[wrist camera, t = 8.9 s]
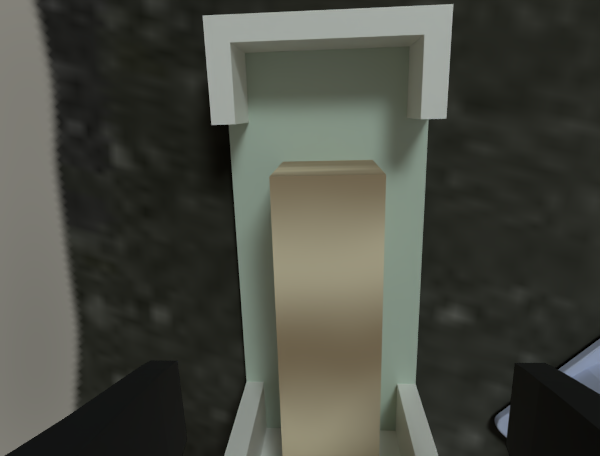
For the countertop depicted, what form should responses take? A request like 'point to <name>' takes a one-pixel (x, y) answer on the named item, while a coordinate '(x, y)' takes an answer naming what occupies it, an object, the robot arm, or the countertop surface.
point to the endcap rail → (330, 147)
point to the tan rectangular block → (329, 304)
